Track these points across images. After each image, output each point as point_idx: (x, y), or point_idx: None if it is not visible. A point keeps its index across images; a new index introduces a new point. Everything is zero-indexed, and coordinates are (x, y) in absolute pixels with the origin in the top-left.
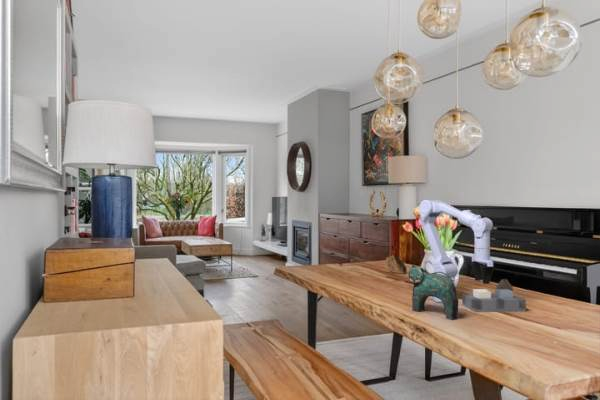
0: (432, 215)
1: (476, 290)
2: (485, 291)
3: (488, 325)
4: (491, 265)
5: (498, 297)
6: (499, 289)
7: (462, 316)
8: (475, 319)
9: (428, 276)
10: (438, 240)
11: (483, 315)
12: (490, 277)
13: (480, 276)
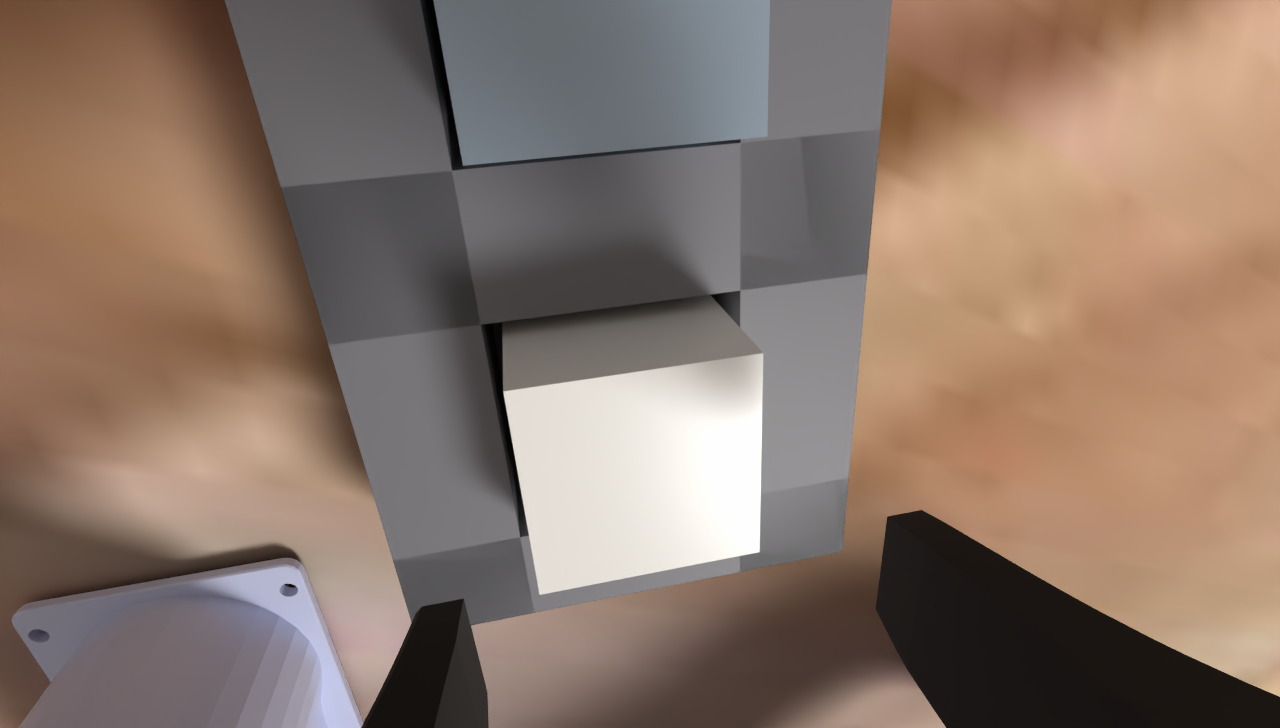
0: None
1: (647, 563)
2: (730, 442)
3: (1185, 459)
4: None
5: (672, 153)
6: (495, 51)
7: None
8: (1017, 514)
9: None
10: None
11: (914, 418)
12: (1079, 610)
13: (453, 700)
